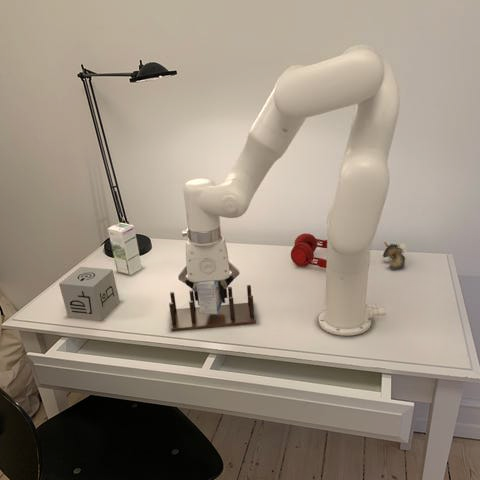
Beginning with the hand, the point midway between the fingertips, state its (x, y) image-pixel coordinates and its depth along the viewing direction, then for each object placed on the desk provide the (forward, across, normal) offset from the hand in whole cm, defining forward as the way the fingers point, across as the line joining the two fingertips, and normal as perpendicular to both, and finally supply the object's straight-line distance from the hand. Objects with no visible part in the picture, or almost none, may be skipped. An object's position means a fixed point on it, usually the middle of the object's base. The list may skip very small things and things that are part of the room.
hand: (211, 300), depth 129 cm
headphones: (+5, +35, +27) cm, 45 cm away
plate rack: (+5, 0, 0) cm, 5 cm away
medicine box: (+2, 0, 0) cm, 2 cm away
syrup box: (+5, -25, +33) cm, 42 cm away
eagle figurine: (+5, +54, +22) cm, 59 cm away
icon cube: (+5, -32, +10) cm, 34 cm away
